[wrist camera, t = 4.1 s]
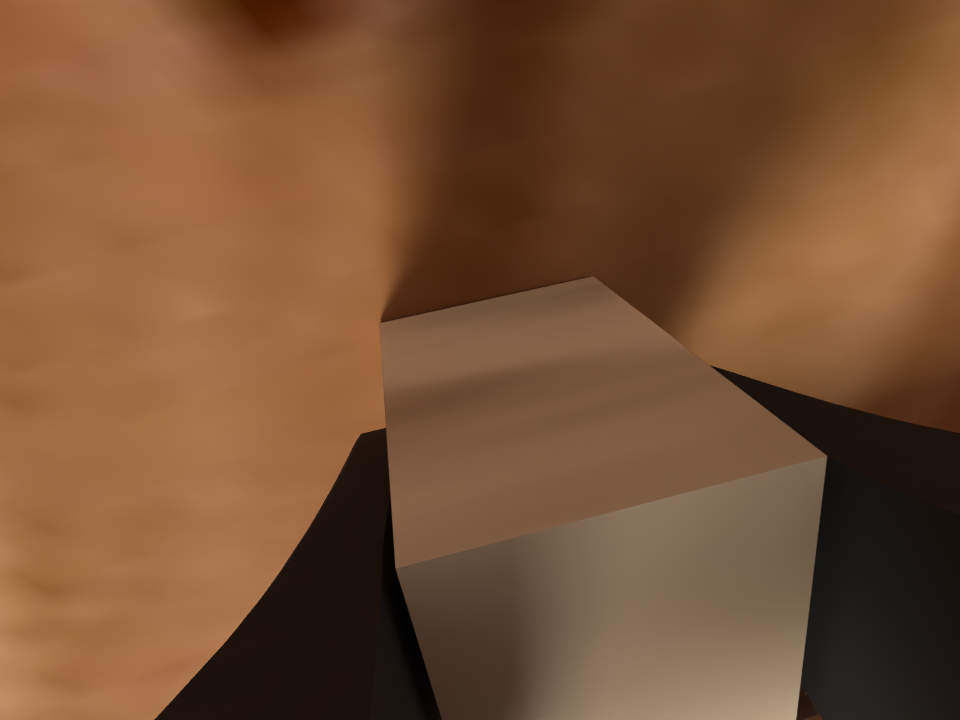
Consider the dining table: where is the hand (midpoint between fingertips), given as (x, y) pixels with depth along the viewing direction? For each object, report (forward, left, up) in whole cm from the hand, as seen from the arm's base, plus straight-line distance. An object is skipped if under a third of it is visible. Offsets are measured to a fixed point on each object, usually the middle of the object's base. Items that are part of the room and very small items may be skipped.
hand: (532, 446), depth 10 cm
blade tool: (-5, 0, -2) cm, 5 cm away
